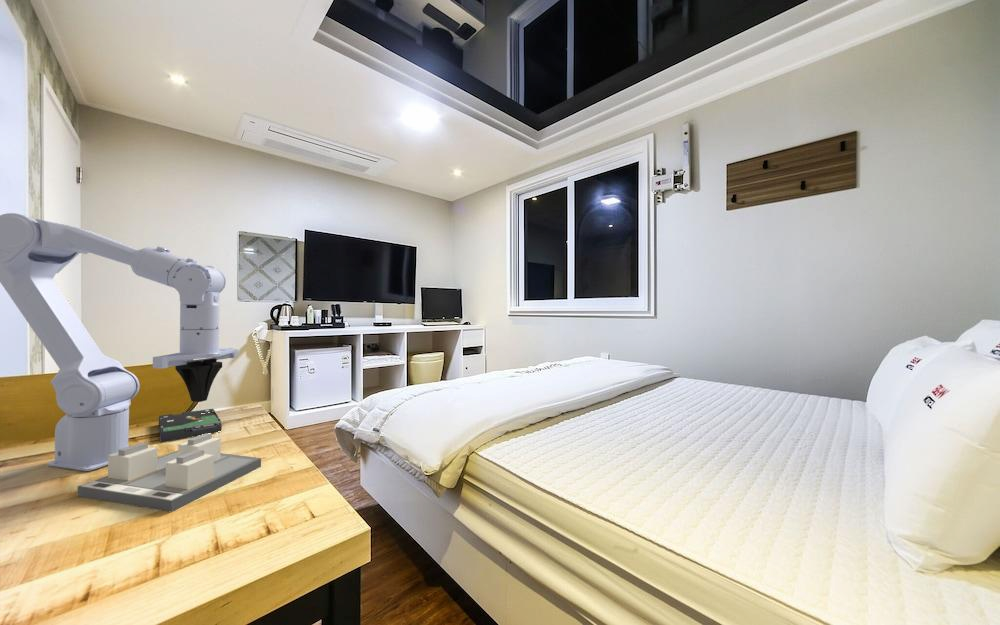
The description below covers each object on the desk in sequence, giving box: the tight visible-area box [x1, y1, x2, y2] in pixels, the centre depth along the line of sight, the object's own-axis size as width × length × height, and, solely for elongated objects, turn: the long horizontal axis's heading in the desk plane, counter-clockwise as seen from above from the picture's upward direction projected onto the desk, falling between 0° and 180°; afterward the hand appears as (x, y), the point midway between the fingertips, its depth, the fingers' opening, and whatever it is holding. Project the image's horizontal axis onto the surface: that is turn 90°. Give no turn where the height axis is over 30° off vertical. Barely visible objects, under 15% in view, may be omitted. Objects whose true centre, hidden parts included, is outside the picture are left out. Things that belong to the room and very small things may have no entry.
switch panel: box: [77, 450, 262, 513], centre depth 60 cm, size 17×15×2 cm
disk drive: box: [158, 408, 223, 443], centre depth 84 cm, size 10×3×15 cm
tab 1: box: [107, 442, 159, 481], centre depth 58 cm, size 4×4×4 cm
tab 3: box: [165, 449, 214, 489], centre depth 56 cm, size 4×4×4 cm
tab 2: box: [177, 433, 222, 461], centre depth 63 cm, size 4×4×4 cm
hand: (199, 400), depth 69 cm, fingers closed
